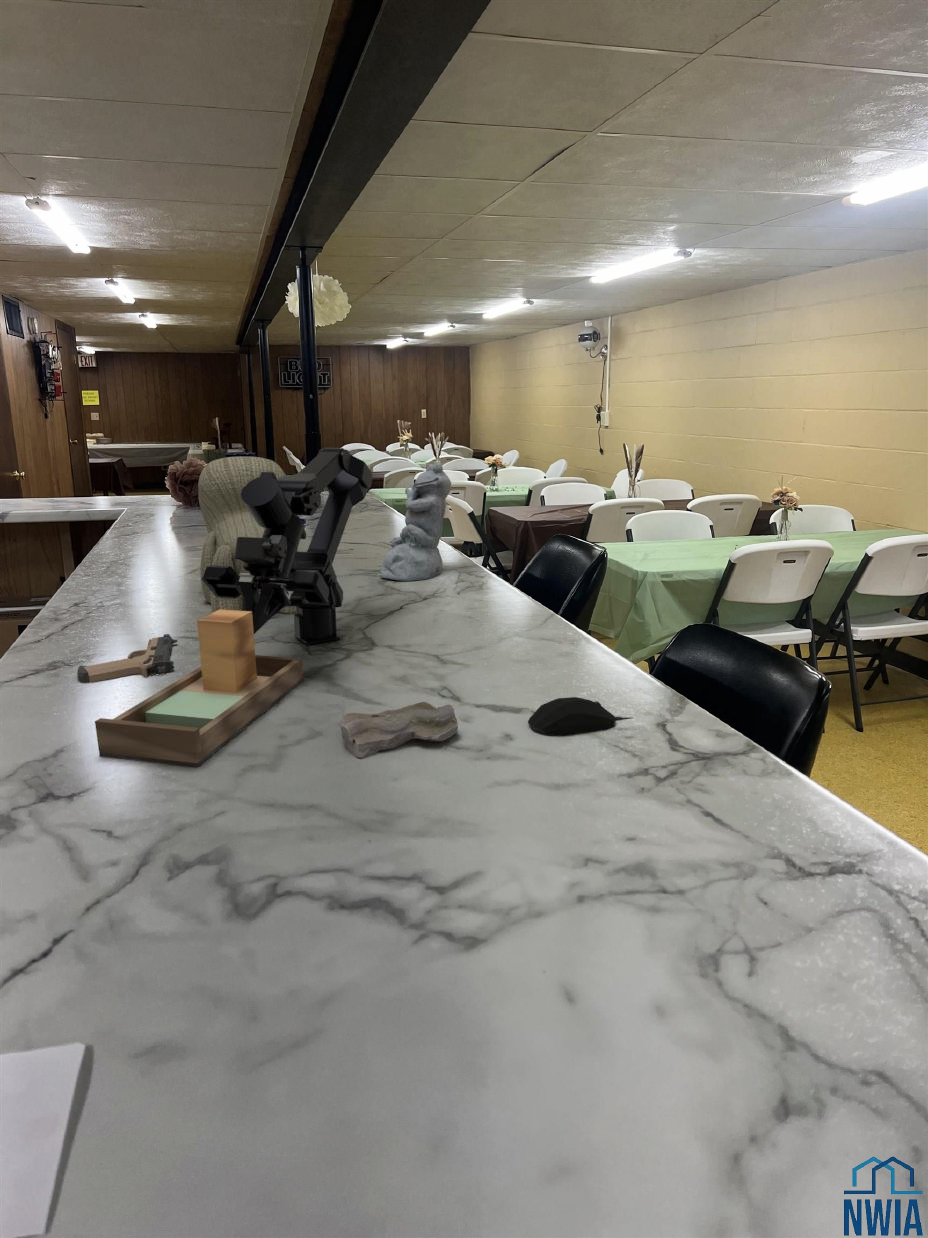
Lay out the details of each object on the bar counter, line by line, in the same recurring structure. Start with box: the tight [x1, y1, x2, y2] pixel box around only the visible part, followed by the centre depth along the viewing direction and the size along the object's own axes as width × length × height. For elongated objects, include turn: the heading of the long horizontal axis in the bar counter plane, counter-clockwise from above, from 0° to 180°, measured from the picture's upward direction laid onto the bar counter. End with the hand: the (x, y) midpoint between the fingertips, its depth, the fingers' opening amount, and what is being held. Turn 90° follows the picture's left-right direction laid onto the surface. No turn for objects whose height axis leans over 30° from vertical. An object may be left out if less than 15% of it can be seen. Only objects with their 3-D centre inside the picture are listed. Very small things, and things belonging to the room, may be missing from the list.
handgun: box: [76, 633, 178, 684], centre depth 127 cm, size 19×3×14 cm
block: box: [196, 609, 257, 693], centre depth 108 cm, size 6×5×10 cm
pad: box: [145, 691, 244, 730], centre depth 102 cm, size 8×11×2 cm
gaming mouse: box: [527, 696, 634, 737], centre depth 102 cm, size 6×15×4 cm, turn 105°
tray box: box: [94, 654, 304, 768], centre depth 105 cm, size 30×13×4 cm, turn 168°
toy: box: [197, 455, 299, 615], centre depth 161 cm, size 21×30×30 cm
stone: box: [339, 701, 459, 759], centre depth 98 cm, size 15×10×4 cm, turn 110°
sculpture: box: [379, 461, 452, 582], centre depth 187 cm, size 18×16×30 cm
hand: (250, 632), depth 114 cm, fingers closed
